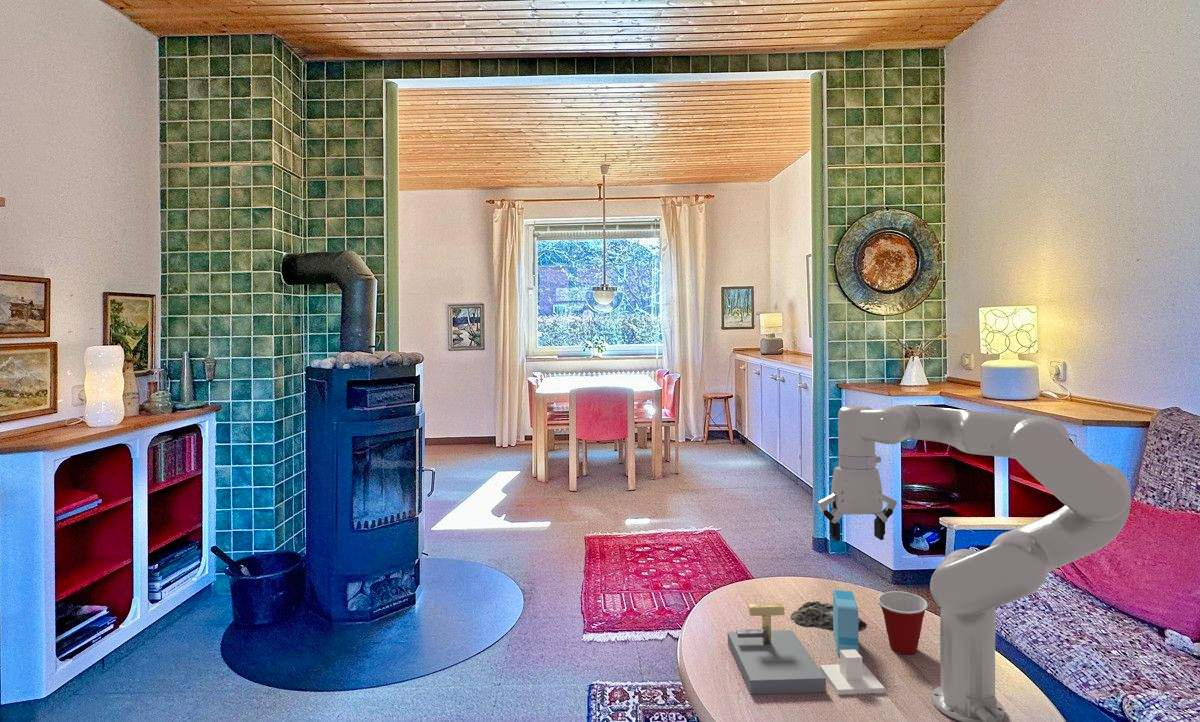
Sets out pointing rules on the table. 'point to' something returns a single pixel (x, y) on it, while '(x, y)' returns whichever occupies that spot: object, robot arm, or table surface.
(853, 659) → the lid
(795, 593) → the table surface
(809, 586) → the table surface
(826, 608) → the geode
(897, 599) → the plastic cup
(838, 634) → the data package
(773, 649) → the plate
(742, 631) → the tan t-shaped piece
